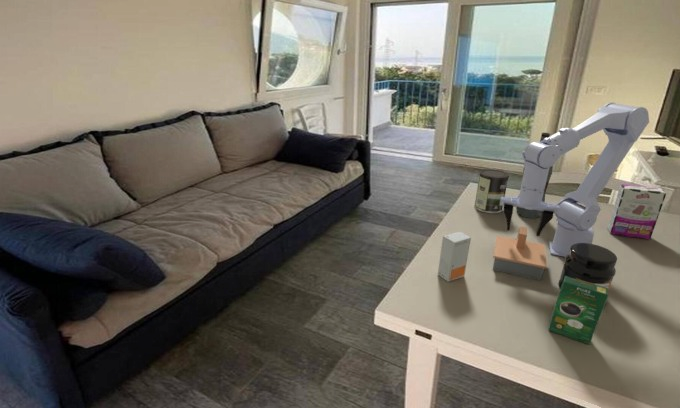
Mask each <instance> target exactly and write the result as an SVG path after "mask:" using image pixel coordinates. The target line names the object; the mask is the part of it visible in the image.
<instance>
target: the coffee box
mask: <svg viewBox="0 0 680 408" xmlns="http://www.w3.org/2000/svg"><path fill="white" fill-rule="evenodd" d="M608 298H609V291H608V288H605V287H601V286H598V285H595V284H591V283H588V282H584V281H581V280H577V279H574V278H571V277H567V276H565V277H564V280H563V283H562V286H561V289H559V292H558V295H557V298H556V301H555V304H554V308H553V311H552V313H551V317H550V321H549V324H548V331H549V332H553V333H554V334H557V335H561V336H564V337H567V338H570V339H572V340H576V341H577V342H580V343H584V344H587V345H590V344H591V341H592V340H593V337H594V334H595V331H596V328H597V325H598V324H599V321H600V318H601V316H602V314H603V311H604V308H605V305H606V303H607V301H608Z"/></svg>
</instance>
